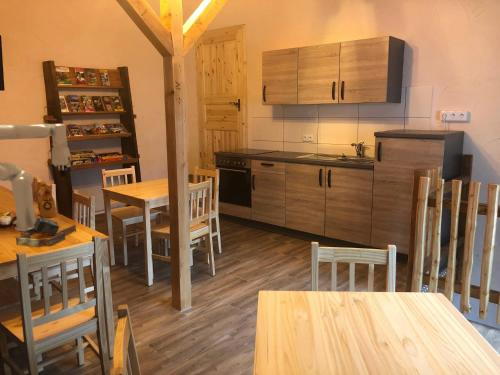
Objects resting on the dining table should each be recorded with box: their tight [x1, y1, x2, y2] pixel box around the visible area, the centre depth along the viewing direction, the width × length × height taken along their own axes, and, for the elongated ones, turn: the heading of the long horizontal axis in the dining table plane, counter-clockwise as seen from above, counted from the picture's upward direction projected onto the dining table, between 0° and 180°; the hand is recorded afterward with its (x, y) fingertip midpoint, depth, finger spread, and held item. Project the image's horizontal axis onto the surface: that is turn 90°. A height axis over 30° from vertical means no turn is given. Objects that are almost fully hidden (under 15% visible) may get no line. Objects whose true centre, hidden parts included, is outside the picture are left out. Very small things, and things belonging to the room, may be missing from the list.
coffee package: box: [37, 180, 57, 219], centre depth 269 cm, size 10×12×22 cm
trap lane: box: [15, 224, 77, 248], centre depth 229 cm, size 24×27×4 cm
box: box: [34, 216, 60, 237], centre depth 232 cm, size 8×6×11 cm
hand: (63, 176), depth 247 cm, fingers closed
